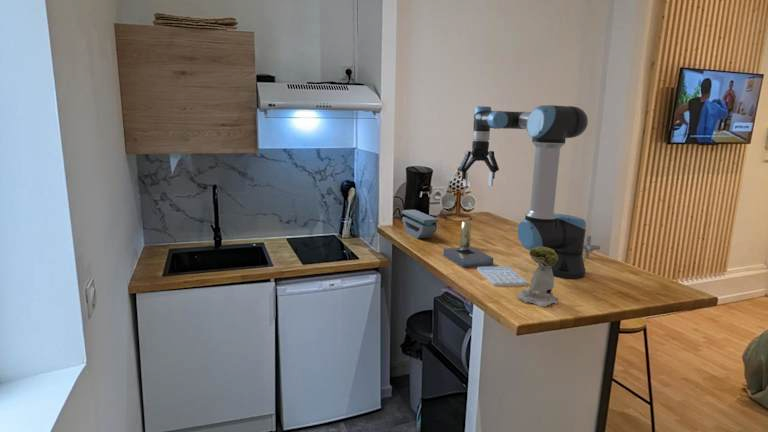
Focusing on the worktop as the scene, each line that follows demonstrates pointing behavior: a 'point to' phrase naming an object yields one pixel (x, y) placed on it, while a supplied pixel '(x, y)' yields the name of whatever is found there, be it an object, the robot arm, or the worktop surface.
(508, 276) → the calculator
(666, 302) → the worktop surface
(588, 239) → the pipe connector
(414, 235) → the grey boxy piece
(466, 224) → the brushed metal cylinder
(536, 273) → the mossy stone tower
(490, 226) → the worktop surface
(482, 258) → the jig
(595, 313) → the worktop surface
